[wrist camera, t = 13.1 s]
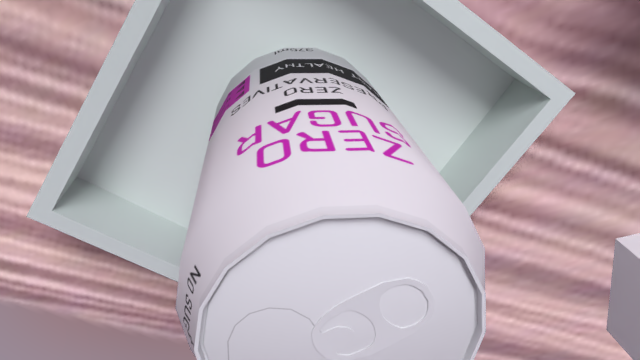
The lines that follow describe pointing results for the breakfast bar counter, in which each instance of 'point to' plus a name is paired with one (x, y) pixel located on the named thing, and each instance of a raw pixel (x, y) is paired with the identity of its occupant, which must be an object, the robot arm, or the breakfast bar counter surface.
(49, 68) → the breakfast bar counter surface
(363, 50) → the sage bin
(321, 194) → the supplement can
